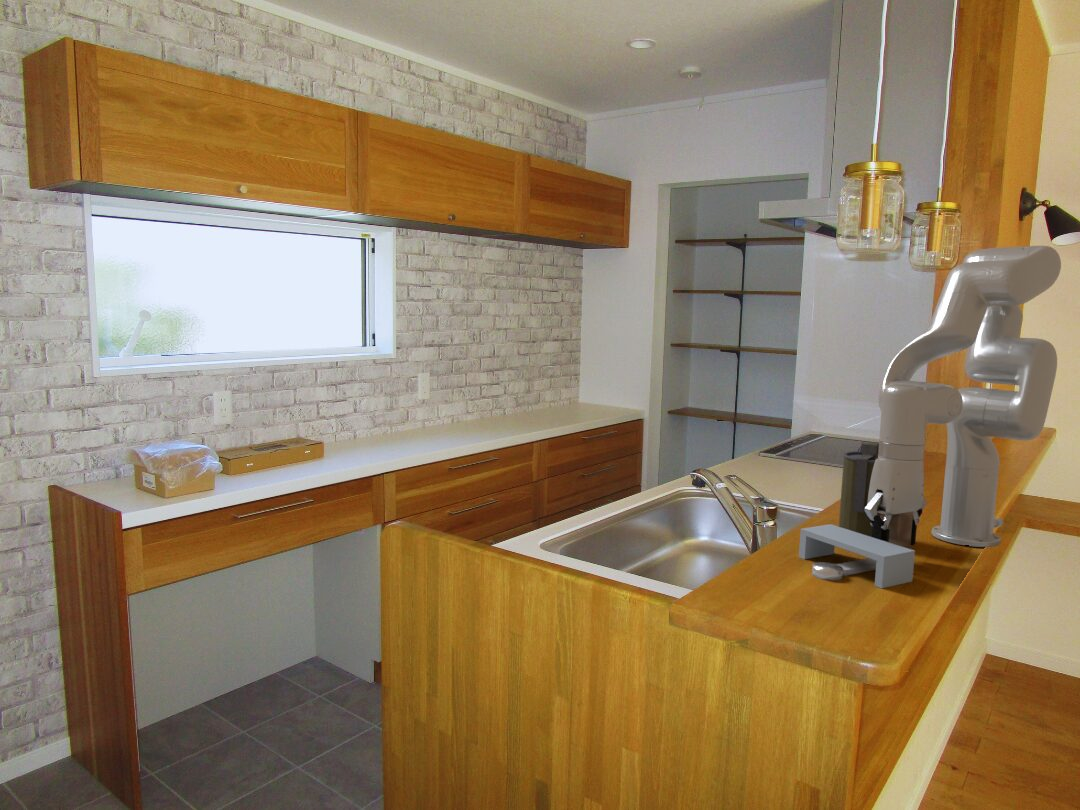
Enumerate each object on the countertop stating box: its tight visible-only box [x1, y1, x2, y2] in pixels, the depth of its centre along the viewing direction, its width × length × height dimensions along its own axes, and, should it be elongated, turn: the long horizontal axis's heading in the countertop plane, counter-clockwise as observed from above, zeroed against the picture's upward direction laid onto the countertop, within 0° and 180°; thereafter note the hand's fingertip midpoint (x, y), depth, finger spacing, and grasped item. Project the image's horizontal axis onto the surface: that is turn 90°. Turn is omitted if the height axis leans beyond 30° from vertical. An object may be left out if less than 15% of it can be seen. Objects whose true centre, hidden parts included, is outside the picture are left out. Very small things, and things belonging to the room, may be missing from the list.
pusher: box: [835, 509, 913, 577], centre depth 137 cm, size 16×4×10 cm, turn 118°
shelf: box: [798, 523, 916, 589], centre depth 136 cm, size 8×18×6 cm, turn 28°
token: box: [811, 561, 844, 582], centre depth 132 cm, size 5×5×2 cm
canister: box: [838, 441, 879, 537], centre depth 154 cm, size 11×10×20 cm
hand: (893, 545), depth 140 cm, fingers open, 7 cm apart
